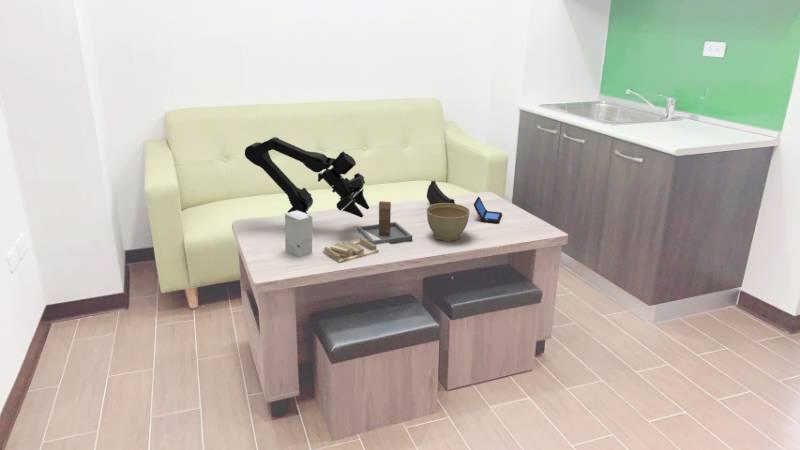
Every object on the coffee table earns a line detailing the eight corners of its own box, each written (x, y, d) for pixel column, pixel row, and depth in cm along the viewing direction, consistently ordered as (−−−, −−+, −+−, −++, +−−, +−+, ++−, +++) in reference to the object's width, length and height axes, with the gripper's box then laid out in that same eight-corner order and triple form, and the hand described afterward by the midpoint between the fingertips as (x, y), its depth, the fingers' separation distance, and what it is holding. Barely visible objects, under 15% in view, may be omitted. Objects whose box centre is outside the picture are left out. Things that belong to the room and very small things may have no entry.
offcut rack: (339, 265, 196) (339, 257, 195) (323, 254, 204) (322, 246, 203) (378, 254, 205) (378, 246, 204) (361, 244, 213) (361, 236, 212)
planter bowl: (416, 236, 221) (417, 209, 218) (443, 226, 233) (444, 200, 229) (450, 248, 211) (451, 220, 207) (476, 236, 222) (478, 210, 219)
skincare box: (285, 253, 205) (282, 213, 199) (298, 248, 209) (296, 209, 204) (300, 260, 200) (299, 219, 194) (314, 254, 204) (312, 214, 199)
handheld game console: (498, 224, 236) (499, 207, 233) (472, 221, 239) (473, 204, 236) (502, 214, 247) (503, 198, 244) (477, 212, 250) (478, 195, 247)
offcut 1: (346, 255, 199) (346, 250, 198) (330, 250, 202) (330, 246, 201) (353, 251, 202) (353, 247, 201) (337, 246, 205) (337, 242, 205)
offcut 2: (345, 259, 199) (345, 255, 198) (330, 254, 203) (330, 250, 202) (353, 255, 202) (352, 251, 202) (337, 250, 206) (337, 246, 205)
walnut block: (389, 236, 220) (389, 203, 215) (378, 235, 221) (379, 202, 216) (390, 234, 222) (390, 202, 217) (380, 233, 222) (380, 201, 218)
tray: (372, 246, 212) (372, 241, 211) (357, 231, 225) (357, 226, 225) (412, 240, 218) (412, 235, 217) (395, 226, 231) (395, 221, 231)
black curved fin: (460, 206, 228) (437, 166, 251) (452, 207, 227) (430, 166, 250) (453, 240, 238) (432, 198, 261) (446, 241, 237) (425, 199, 260)
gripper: (344, 175, 206) (374, 207, 208) (358, 162, 223) (385, 192, 225) (323, 194, 210) (353, 226, 212) (338, 180, 227) (365, 209, 229)
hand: (365, 212), depth 219 cm, fingers open, 9 cm apart
